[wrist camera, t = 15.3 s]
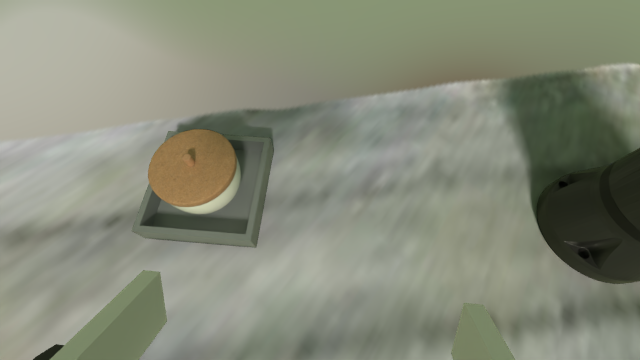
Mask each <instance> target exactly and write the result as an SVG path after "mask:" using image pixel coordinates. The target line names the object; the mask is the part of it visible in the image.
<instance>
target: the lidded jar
mask: <svg viewBox="0 0 640 360" xmlns="http://www.w3.org/2000/svg"><path fill="white" fill-rule="evenodd" d="M148 178H149V183H150V186H151V188H152V190H153V191H154V193H155V194H156V195H157V196H158V197H160V198H161V199H162V200H164V201H165V202H167V203H169V204H171V205H172V206H173V207H175V208H177V209H179V210H181V211H184V212H187V213H191V214H208V213H213V212H215V211H218V210H220V209H222V208H223V207H225V206H226V205H227V204H228V203H229V202H231V200H232V199H233V198H234V197H235V195H236V193H237V191H238V189H239V186H240V181H241V171H240V166H239V162H238V159H237V157H236V154H235V151H234V149H233V147H232V145H231V143H230V142H229V141H228V140H227V139H226V138H225V137H224V136H223V135H221V134H219V133H217V132H214V131H211V130H206V129H193V130H188V131H184V132H181V133H179V134H177V135H175V136H173V137H171V138H169V139H168V140H167V141H166V142H164V143H163V144H162V145H161V146H160V147H159V148H158V150H157V151H156V152H155V154H154V155H153V157H152V159H151V162H150V165H149V170H148Z"/></svg>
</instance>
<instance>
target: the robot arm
mask: <svg viewBox="0 0 640 360" xmlns="http://www.w3.org/2000/svg"><path fill="white" fill-rule="evenodd" d="M537 217H538V223H539V226H540V229H541V231H542V234H543V236H544V238H545V239H546V241H547V243H548V244H549V246H550V247H551V248H552V249H553V251H554V252H555V253H556V254H557V255H558V256H559V257H560V258H561V259H562V260H563V261H564V262H565V263H567V264H568V265H569V266H570V267H572V268H573V269H575V270H576V271H578V272H580V273H582V274H583V275H585V276H588V277H590V278H592V279H595V280H598V281H602V282H606V283H613V284H624V283H631V282H637V281H640V148H639V149H637V150H635V151H634V152H632V153H630V154H628V155H626V156H625V157H623V158H621V159H620V160H618V161H616V162H614V163H613V164H611V165H608V166H603V167H598V168H593V169H588V170H583V171H578V172H574V173H570V174H568V175H565V176H563V177H561V178H560V179H558V180H556V181H555V182H553V183H552V184H550V185H549V186H548V187H547V188H546V189H545V190H544V191H543V192H542V194H541V196H540V198H539V201H538V205H537ZM166 322H167V317H166V310H165V303H164V296H163V290H162V283H161V276H160V272H154V271H145V270H143V271H142V272H141V273H140V274H139V275H138V276H137V277H136V278H135V279H134V280H133V281H132V282H131V283H130V284H129V285H127V286H126V287H125V288H124V289H123V290H122V291H121V292H120V293H119V294H118V295H117V296H116V297H115V298H114V299H113V300H112V301H111V302H110V303H109V304H108V305H106V306H105V307H104V308H103V309H102V310H101V311H100V312H99V313H98V314H97V315H96V316H95V317H94V318H93V319H92V320H91V321H90V322H89V323H88V324H87V325H85V326H84V327H83V328H82V329H81V330H80V331H79V332H78V333H77V334H76V335H75V336H74V337H73V338H72V339H71V340H70V341H69V342H68V343H67V344H66V345H57V344H56V345H54V346H53V347H51V348H49V349H48V350H46V351H45V352H43V353H41V354H40V355H38V356H37V357H35V358H34V359H33V360H139V359H140V357H141V356H142V355H143V353H144V352H145V350H146V349H147V348H148V346H149V345H150V344H151V342H152V341H153V340H154V338H155V337H156V336H157V334H158V333H159V331H160V330H161V329H162V327H163V326H164V325H165V323H166ZM451 354H452V357H453V359H454V360H515V358H514V357H513V355H512V353H511V352H510V350H509V348H508V346H507V345H506V343H505V341H504V340H503V338H502V336H501V335H500V333H499V331H498V329H497V328H496V326H495V324H494V323H493V321H492V319H491V317H490V316H489V314H488V312H487V311H486V309H485V307H484V306H483V305H479V304H469V303H464V305H463V309H462V313H461V317H460V321H459V325H458V329H457V332H456V336H455V340H454V344H453V348H452V352H451Z"/></svg>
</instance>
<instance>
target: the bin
mask: <svg viewBox="0 0 640 360" xmlns="http://www.w3.org/2000/svg"><path fill="white" fill-rule="evenodd" d="M179 133H181V132H174V131H168V134H167V136H166V139H165V142H166V141H167V140H168V139H169V138H171V137H173V136H175V135H177V134H179ZM223 136H224V137H225V138H226V139H227V140H228V141H229V142H230V143H231V145H232V147H233V149H234V151H235V154H236V157H237V159H238V162H239V166H240V171H241V181H240V186H239V189H238V191H237V193H236V195H235V197H234V198H233V199H232V200H231V202H229V203H228V204H227V205H226V206H225V207H223V208H222V209H220V210H218V211H215V212H213V213H208V214H191V213H187V212H184V211H181V210H179V209H177V208H175V207H173V206H172V205H171V204H169V203H167V202H165V201H164V200H162V199H161V198H160V197H158V196H157V195H156V194H155V193H154V191H153V190H152V188H151V186H150V183H149V185H148V187H147V190H146V193H145V196H144V198H143V201H142V204H141V206H140V209H139V212H138V214H137V217H136V220H135V222H134V225H133V228H132V232H134V233H136V234H138V235H140V236H142V237H144V238H148V239H160V240H172V241H184V242H195V243H207V244H219V245H231V246H242V247H254V248H256V247H257V241H258V235H259V230H260V224H261V219H262V213H263V208H264V202H265V197H266V191H267V186H268V180H269V175H270V169H271V163H272V158H273V152H274V149H273V145H272V142H271V138H265V137H250V136H235V135H223Z"/></svg>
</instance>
